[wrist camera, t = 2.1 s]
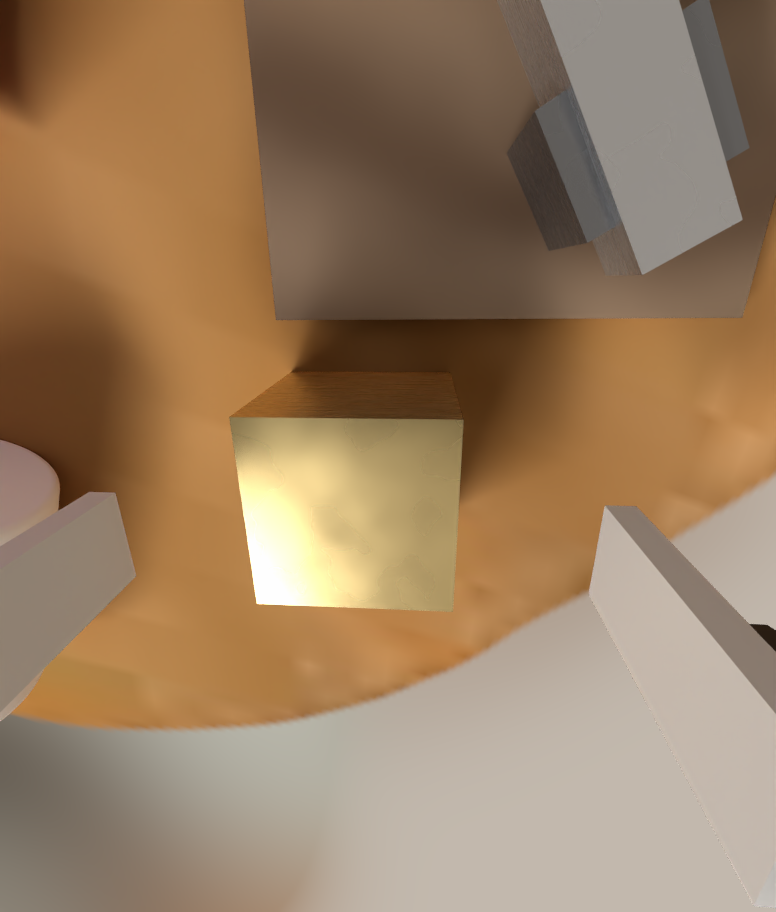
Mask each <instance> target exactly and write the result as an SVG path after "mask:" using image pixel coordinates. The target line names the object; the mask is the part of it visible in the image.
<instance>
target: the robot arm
mask: <svg viewBox="0 0 776 912" xmlns="http://www.w3.org/2000/svg"><path fill="white" fill-rule="evenodd" d="M135 577H136V573H135V569H134V565H133V561H132V557H131V553H130V549H129V545H128V541H127V537H126V533H125V529H124V525H123V521H122V517H121V513H120V509H119V505H118V501H117V497H116V493H111V492H88V493H87V494H85V495H83V496H82V497H80V498H78V499H77V500H75V501H74V502H72V503H70V504H69V505H67V506H65V507H64V508H62V509H60V510H59V511H57V512H56V513H54V514H52V515H51V516H49V517H47V518H46V519H44V520H42V521H41V522H39V523H38V524H36V525H34V526H33V527H31V528H29V529H28V530H26V531H24V532H23V533H21V534H20V535H18V536H16V537H15V538H13V539H11V540H10V541H8V542H6V543H5V544H3V545H2V546H0V712H1V711H2V710H3V709H4V708H5V707H6V706H7V705H8V704H9V703H10V702H11V701H12V700H13V699H14V698H15V697H16V696H17V695H18V694H19V693H20V692H21V691H22V690H23V689H24V688H25V687H26V686H27V685H28V684H29V683H30V682H31V681H32V680H33V679H34V678H35V677H36V676H37V675H38V674H39V673H40V672H41V671H42V670H43V669H44V668H45V667H46V666H47V665H48V664H49V663H50V662H51V661H52V660H53V659H54V658H55V657H56V656H57V655H58V654H59V653H60V652H61V651H62V650H63V649H64V648H65V647H66V646H67V645H68V644H69V643H70V642H71V641H72V640H73V639H74V638H75V637H76V636H77V635H78V634H79V633H80V632H81V631H82V630H83V629H84V628H85V627H86V626H87V625H88V624H89V623H90V622H91V621H92V620H93V619H94V618H95V617H96V616H97V615H98V614H99V613H100V612H101V611H102V610H103V609H104V608H105V607H106V606H107V605H108V604H109V603H110V602H111V601H112V600H113V599H114V598H115V597H116V596H117V595H118V594H119V593H120V592H121V591H122V590H123V589H124V588H125V587H126V586H127V585H128V584H129V583H130V582H131V581H132V580H133V579H134V578H135ZM589 596H590V598H591V600H592V602H593V604H594V606H595V608H596V610H597V611H598V613H599V615H600V617H601V619H602V621H603V623H604V624H605V626H606V628H607V630H608V632H609V634H610V636H611V638H612V640H613V642H614V644H615V645H616V647H617V649H618V651H619V653H620V655H621V657H622V659H623V661H624V662H625V664H626V666H627V668H628V670H629V672H630V674H631V675H632V678H633V679H634V681H635V683H636V685H637V687H638V689H639V691H640V692H641V695H642V696H643V698H644V700H645V702H646V704H647V706H648V708H649V709H650V711H651V713H652V715H653V717H654V719H655V721H656V723H657V725H658V726H659V728H660V730H661V732H662V734H663V736H664V738H665V740H666V742H667V744H668V745H669V747H670V749H671V751H672V753H673V754H674V756H675V759H676V761H677V762H678V764H679V766H680V768H681V770H682V772H683V774H684V776H685V777H686V779H687V781H688V783H689V785H690V787H691V789H692V791H693V792H694V794H695V796H696V798H697V800H698V802H699V804H700V806H701V808H702V810H703V812H704V813H705V815H706V817H707V819H708V821H709V823H710V825H711V827H712V828H713V830H714V832H715V834H716V836H717V838H718V840H719V842H720V844H721V846H722V847H723V849H724V851H725V853H726V855H727V857H728V859H729V861H730V862H731V864H732V866H733V868H734V870H735V871H736V874H737V876H738V878H739V879H740V881H741V883H742V885H743V887H744V889H745V891H746V893H747V895H748V897H749V898H750V900H751V902H752V904H753V906H759V907H770V908H776V630H774V629H773V628H771V627H770V626H768V625H758V624H749V623H748V622H747V621H746V620H745V619H744V618H743V617H742V616H741V615H740V614H739V613H738V612H737V611H736V610H735V609H734V608H733V607H732V606H731V605H730V604H729V603H728V602H727V600H726V599H724V597H723V596H722V595H721V594H720V593H719V592H718V591H717V590H716V589H715V588H714V587H713V586H712V585H711V584H710V583H709V582H708V581H707V580H706V579H705V578H704V577H703V576H702V575H701V573H700V572H699V571H697V569H696V568H695V567H694V566H693V565H692V564H691V563H690V562H689V561H688V560H687V559H686V558H685V557H684V556H683V555H682V554H681V553H680V551H679V550H678V549H677V548H676V547H675V546H674V545H673V544H672V543H671V542H670V541H669V540H668V539H667V538H666V537H665V536H664V535H663V534H662V533H661V532H660V531H659V530H658V529H657V527H656V526H655V525H654V524H653V523H652V522H651V521H650V520H649V519H648V518H647V517H646V516H645V515H644V514H643V513H642V512H641V511H640V510H639V509H638V508H637V507H636V506H605V508H604V513H603V519H602V524H601V530H600V535H599V541H598V546H597V552H596V557H595V563H594V568H593V574H592V579H591V584H590V590H589Z"/></svg>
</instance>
